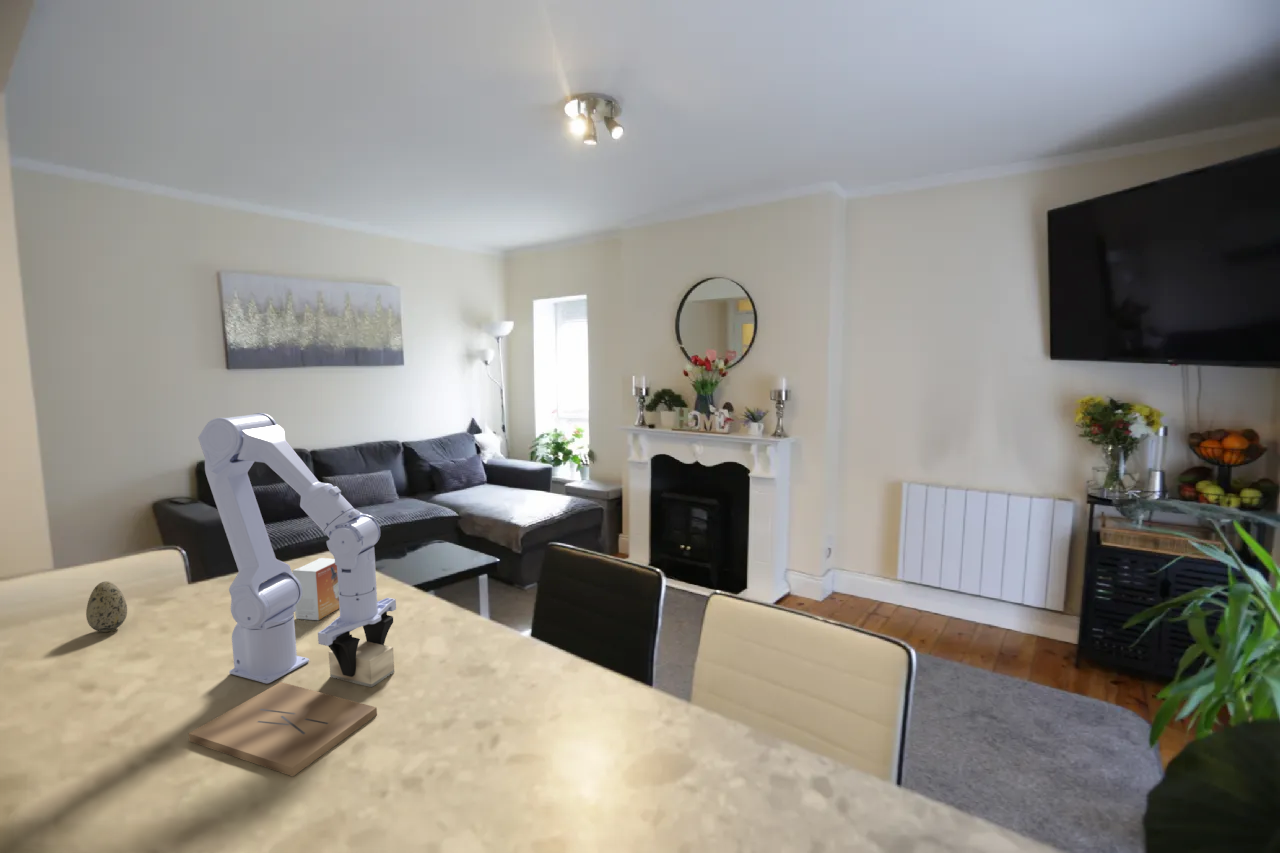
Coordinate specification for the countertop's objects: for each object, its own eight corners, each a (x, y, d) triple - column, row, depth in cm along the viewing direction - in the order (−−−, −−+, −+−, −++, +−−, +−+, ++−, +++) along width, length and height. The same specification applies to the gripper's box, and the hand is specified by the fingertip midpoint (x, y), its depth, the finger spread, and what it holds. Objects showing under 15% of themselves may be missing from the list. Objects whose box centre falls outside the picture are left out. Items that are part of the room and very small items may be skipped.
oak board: (189, 741, 82) (188, 733, 82) (281, 688, 95) (280, 681, 95) (293, 776, 75) (292, 767, 75) (376, 714, 88) (376, 707, 88)
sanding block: (330, 676, 99) (328, 651, 98) (354, 662, 103) (352, 638, 103) (371, 687, 96) (370, 661, 95) (394, 672, 100) (393, 647, 100)
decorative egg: (88, 630, 116) (83, 581, 115) (128, 621, 120) (123, 574, 119) (88, 640, 112) (82, 590, 111) (129, 630, 116) (124, 582, 115)
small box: (318, 621, 120) (315, 571, 119) (294, 619, 121) (291, 570, 120) (345, 605, 128) (342, 558, 126) (323, 603, 129) (320, 557, 127)
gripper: (339, 610, 90) (345, 693, 91) (408, 577, 103) (411, 650, 105) (305, 603, 92) (311, 685, 94) (376, 572, 106) (380, 644, 107)
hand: (362, 666), depth 99 cm, fingers closed on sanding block, 5 cm apart
